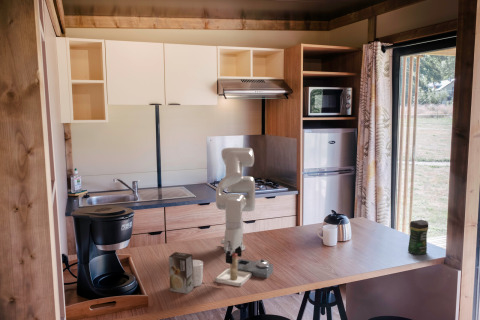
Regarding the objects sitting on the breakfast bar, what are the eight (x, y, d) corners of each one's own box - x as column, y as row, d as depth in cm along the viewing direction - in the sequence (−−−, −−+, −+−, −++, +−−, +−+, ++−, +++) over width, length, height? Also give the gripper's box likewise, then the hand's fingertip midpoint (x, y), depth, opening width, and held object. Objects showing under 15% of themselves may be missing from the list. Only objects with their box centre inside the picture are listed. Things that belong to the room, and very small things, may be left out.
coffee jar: (416, 256, 222) (418, 223, 220) (405, 251, 229) (407, 219, 227) (429, 253, 226) (431, 221, 224) (417, 249, 233) (419, 217, 231)
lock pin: (229, 279, 190) (228, 254, 188) (232, 276, 193) (232, 252, 191) (235, 280, 188) (235, 255, 187) (238, 277, 192) (238, 253, 190)
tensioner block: (232, 273, 199) (232, 258, 198) (239, 267, 206) (239, 252, 205) (267, 280, 191) (267, 264, 190) (273, 274, 198) (273, 258, 197)
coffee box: (194, 288, 183) (193, 254, 181) (187, 294, 177) (186, 259, 175) (176, 285, 186) (175, 251, 184) (169, 291, 180) (168, 256, 178)
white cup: (186, 280, 191) (186, 260, 190) (203, 279, 192) (203, 259, 191) (185, 287, 184) (185, 266, 182) (203, 286, 184) (203, 265, 183)
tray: (215, 283, 188) (215, 278, 187) (227, 273, 199) (227, 268, 199) (240, 288, 182) (240, 283, 182) (252, 277, 194) (252, 272, 194)
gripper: (234, 218, 197) (234, 252, 199) (217, 228, 181) (217, 264, 183) (248, 220, 194) (248, 254, 196) (232, 230, 178) (232, 267, 180)
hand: (233, 259), depth 190 cm, fingers open, 9 cm apart
